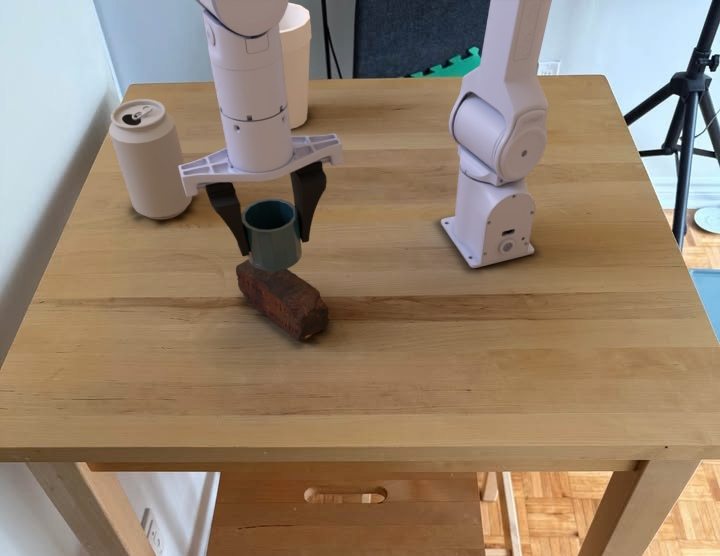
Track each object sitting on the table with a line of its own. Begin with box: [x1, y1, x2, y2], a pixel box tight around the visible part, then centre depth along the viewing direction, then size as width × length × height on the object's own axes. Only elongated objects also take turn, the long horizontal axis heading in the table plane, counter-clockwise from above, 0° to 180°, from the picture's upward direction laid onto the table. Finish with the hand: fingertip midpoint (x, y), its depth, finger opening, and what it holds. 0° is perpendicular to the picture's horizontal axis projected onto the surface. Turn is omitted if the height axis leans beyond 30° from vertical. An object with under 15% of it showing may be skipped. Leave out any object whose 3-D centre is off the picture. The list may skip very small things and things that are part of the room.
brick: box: [235, 258, 330, 342], centre depth 76 cm, size 11×4×5 cm, turn 44°
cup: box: [241, 197, 303, 271], centre depth 70 cm, size 5×6×4 cm
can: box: [108, 98, 193, 220], centre depth 85 cm, size 8×8×12 cm
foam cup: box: [279, 2, 313, 130], centre depth 96 cm, size 10×9×13 cm
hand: (274, 243), depth 70 cm, fingers closed on cup, 5 cm apart
